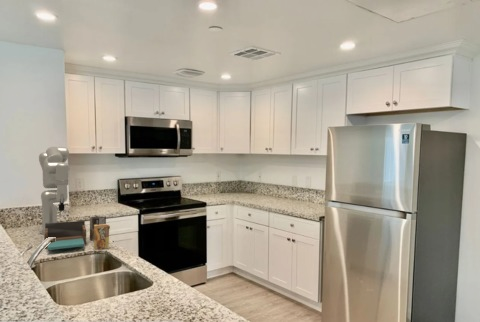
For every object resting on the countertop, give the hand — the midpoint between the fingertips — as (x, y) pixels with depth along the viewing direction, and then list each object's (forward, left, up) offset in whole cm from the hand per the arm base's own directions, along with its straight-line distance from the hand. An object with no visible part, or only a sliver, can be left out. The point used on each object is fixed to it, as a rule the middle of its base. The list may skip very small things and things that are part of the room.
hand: (61, 210), depth 220 cm
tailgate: (+4, +3, -20) cm, 21 cm away
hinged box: (-4, +3, -23) cm, 23 cm away
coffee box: (-5, +23, -23) cm, 33 cm away
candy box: (+17, +23, -23) cm, 37 cm away
